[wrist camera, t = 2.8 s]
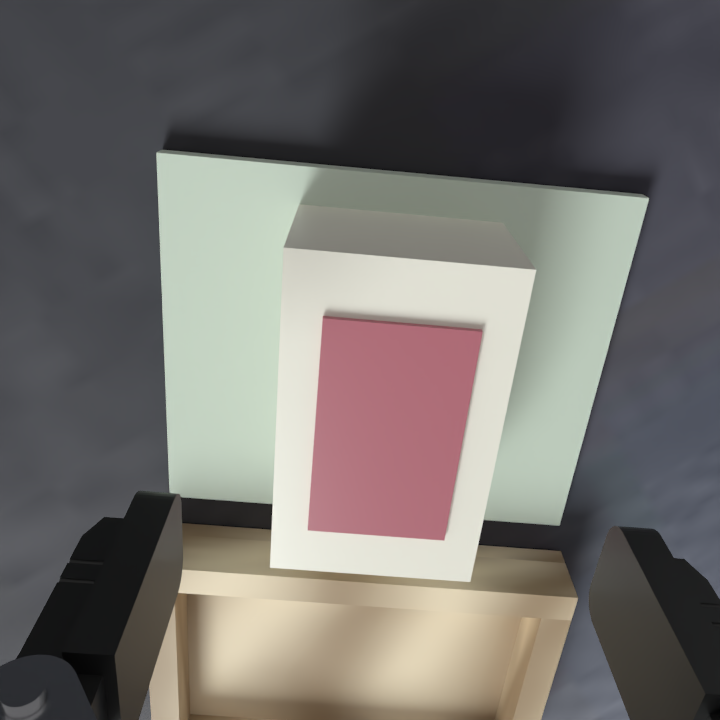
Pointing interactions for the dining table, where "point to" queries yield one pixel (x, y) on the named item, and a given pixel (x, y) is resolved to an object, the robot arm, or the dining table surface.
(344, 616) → the tray
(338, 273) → the card deck
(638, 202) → the mat
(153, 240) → the dining table surface
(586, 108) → the dining table surface
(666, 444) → the dining table surface
